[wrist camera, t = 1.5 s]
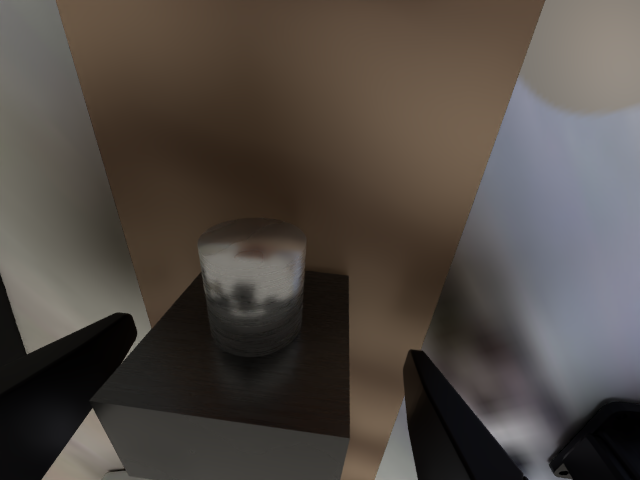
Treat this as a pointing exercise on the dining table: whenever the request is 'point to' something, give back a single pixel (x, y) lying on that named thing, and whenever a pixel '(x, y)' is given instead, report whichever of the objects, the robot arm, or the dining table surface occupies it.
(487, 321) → the dining table surface
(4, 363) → the coral
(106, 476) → the skincare box
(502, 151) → the dining table surface
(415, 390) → the robot arm
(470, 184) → the walnut board
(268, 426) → the steel tube
